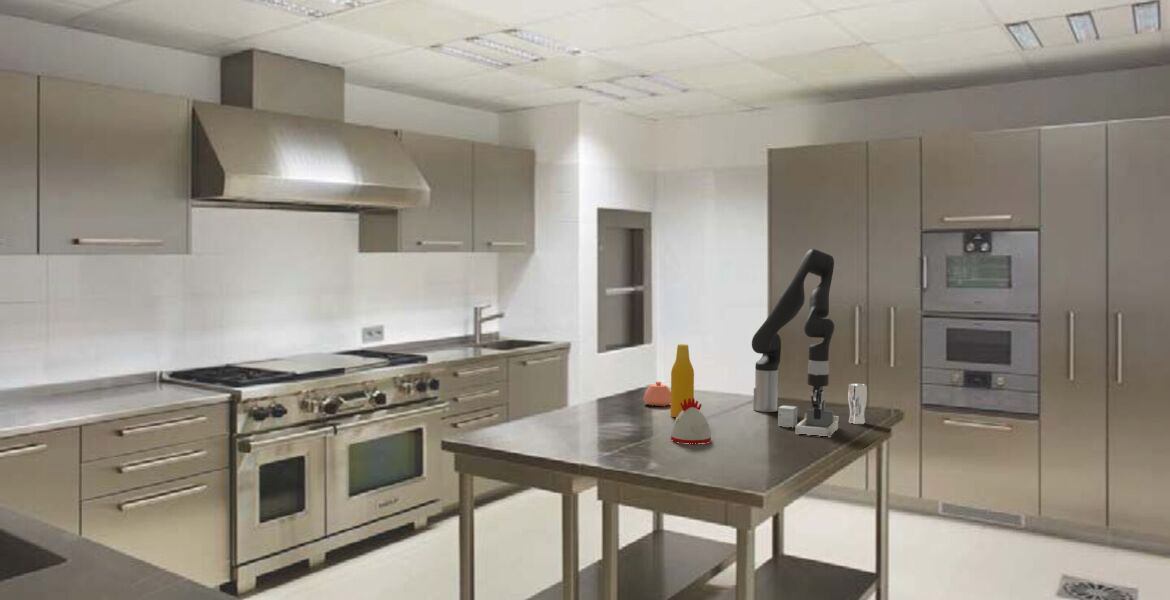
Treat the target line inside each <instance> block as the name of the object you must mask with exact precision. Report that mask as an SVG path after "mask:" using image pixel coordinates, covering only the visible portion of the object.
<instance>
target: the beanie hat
mask: <svg viewBox="0 0 1170 600" xmlns="http://www.w3.org/2000/svg"><path fill="white" fill-rule="evenodd" d="M680 404H681V407H682V409H683V411H681V412H680V414H679V415H678V416H677V418H675V420H674V422H673V426H672V430H671V434H670V440H673V441H675V442H679V443H689V444H690V443H691V444H692V443H693V444H695V443H696V444H698V443H707V442H710V441H712V433H711V429H710V426H709V423H708V420H707V418H706V416H705V415H704V414H703V412H702V411H701V408H702V403H699V400H696V401H695V398H692V402H691V399H690V398H689V399H688V404H687V402H686V399H684V405H683V404H682V403H680ZM698 404H699V405H698ZM675 442H674V443H675ZM679 443H678V444H679ZM710 443H711V442H710ZM707 444H708V443H707Z"/></svg>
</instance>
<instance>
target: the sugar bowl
mask: <svg viewBox="0 0 1170 600" xmlns="http://www.w3.org/2000/svg"><path fill="white" fill-rule="evenodd" d="M643 400H644V402H645V403H646V404H647V405H649V406H650V405H655V406H657V407H658V406H660V407H661V406H665V407H666V406H669V405H671V389H670V388H669V386H667V385H666V384H664V383H663V384H662V381H655V383H654V384H650V385H648V387H647V389H646V391H645V393H644V397H643Z"/></svg>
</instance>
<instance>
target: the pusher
mask: <svg viewBox="0 0 1170 600" xmlns="http://www.w3.org/2000/svg"><path fill="white" fill-rule="evenodd" d="M825 401H826V399H823V405H822V408H821V418H820V419H814V409H811V408H807V409H806V413H807V425H809V426H820V427H829V426H830V425H831V424H832V423H833V416H834V410H825V409H826V406H825V404H826V403H825Z"/></svg>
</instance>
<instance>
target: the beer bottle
mask: <svg viewBox="0 0 1170 600" xmlns="http://www.w3.org/2000/svg"><path fill="white" fill-rule="evenodd" d="M694 390H695V371H694V368H693V365H692V363H691V360H690V352H689V345H688V344H686V343H685V344H677V348H676V356H675V361H674V363H673V365H672V367H671V372H670V392H671V403H670V416H671V418H673V417H677V416H678V415H679V414H680V412H681V411H683V409H682V407H681V404H680V403H682V404H683V405H684V399H686V402H687V404H688V399H689V398H690V399H691V402H692V398H694V397H695V395H694V393H695V391H694ZM694 399H695V398H694Z"/></svg>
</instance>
